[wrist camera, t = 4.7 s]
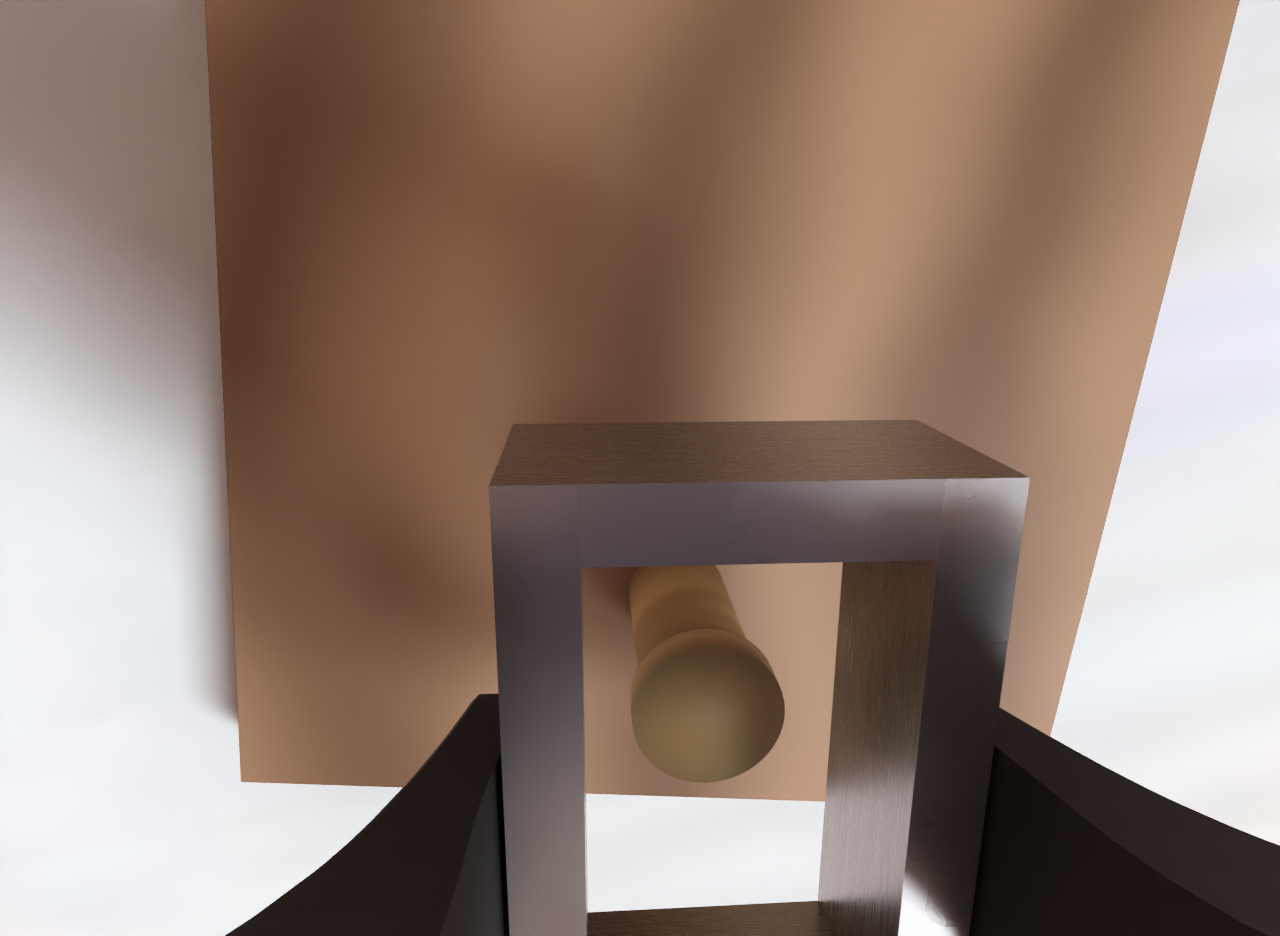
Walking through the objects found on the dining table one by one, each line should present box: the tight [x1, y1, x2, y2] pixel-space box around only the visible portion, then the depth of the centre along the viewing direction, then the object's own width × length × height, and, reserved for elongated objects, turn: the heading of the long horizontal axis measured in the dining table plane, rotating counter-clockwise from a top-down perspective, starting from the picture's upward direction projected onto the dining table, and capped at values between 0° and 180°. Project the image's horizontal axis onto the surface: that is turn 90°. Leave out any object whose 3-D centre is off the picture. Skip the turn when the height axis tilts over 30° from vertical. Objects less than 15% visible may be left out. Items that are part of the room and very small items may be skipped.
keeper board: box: [205, 0, 1240, 801], centre depth 14 cm, size 18×24×6 cm
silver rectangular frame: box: [489, 420, 1030, 936], centre depth 11 cm, size 6×9×3 cm, turn 0°
